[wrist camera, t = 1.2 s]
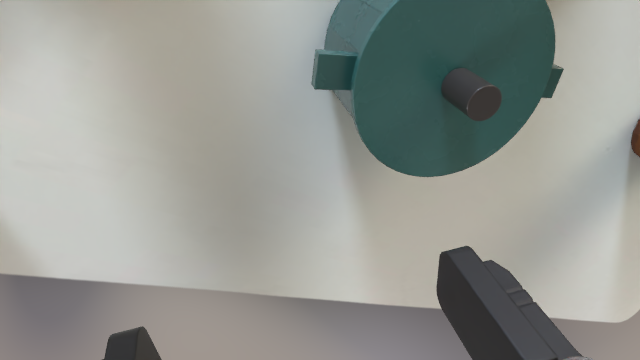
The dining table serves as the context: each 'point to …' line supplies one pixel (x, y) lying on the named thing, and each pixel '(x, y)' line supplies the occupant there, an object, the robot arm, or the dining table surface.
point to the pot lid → (450, 80)
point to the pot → (345, 42)
